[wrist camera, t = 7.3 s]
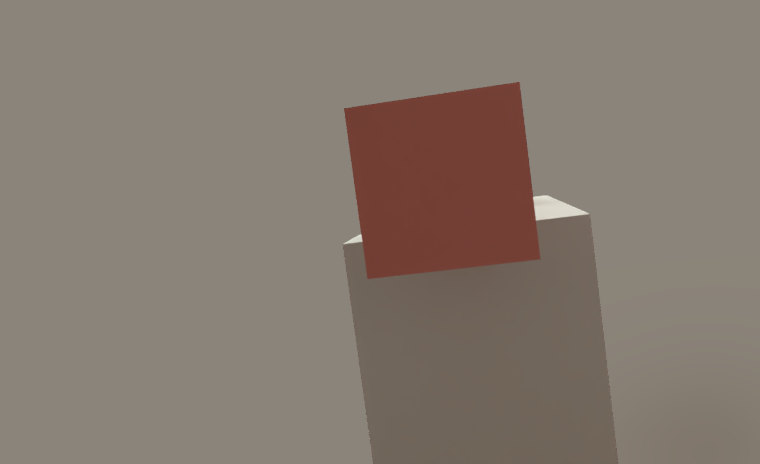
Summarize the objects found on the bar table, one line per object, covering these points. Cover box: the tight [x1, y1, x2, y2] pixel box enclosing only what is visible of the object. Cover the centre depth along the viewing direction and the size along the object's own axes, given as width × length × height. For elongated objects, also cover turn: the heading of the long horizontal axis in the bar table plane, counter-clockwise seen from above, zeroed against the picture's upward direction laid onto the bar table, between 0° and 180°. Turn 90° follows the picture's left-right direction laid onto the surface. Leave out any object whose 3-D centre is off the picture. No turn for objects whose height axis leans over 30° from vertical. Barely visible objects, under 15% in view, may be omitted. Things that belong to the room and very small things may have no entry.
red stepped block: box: [344, 82, 540, 279], centre depth 22 cm, size 19×5×4 cm, turn 172°
